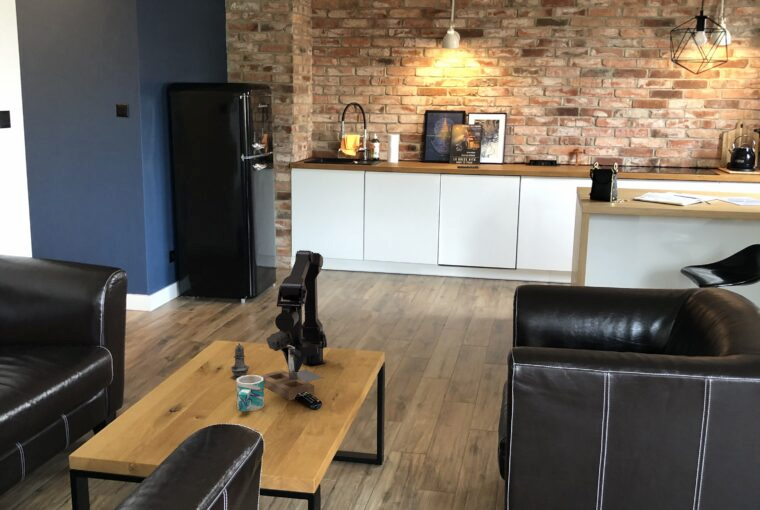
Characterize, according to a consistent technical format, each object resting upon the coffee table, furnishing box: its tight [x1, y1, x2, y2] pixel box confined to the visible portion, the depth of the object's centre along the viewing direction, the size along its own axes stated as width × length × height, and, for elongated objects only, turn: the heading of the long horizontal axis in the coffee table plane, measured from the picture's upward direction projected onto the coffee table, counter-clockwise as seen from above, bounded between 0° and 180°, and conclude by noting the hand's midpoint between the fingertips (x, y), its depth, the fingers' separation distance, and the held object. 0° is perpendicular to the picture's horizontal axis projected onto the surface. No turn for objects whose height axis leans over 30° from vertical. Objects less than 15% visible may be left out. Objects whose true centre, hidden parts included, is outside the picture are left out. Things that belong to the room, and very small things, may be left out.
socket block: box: [258, 369, 315, 401], centre depth 255 cm, size 18×9×3 cm, turn 40°
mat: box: [298, 368, 323, 383], centre depth 267 cm, size 10×10×1 cm
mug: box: [236, 374, 265, 412], centre depth 240 cm, size 8×12×8 cm
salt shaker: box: [230, 342, 250, 381], centre depth 264 cm, size 6×6×12 cm
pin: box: [288, 347, 298, 380], centre depth 250 cm, size 3×3×10 cm
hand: (293, 370), depth 251 cm, fingers closed on pin, 3 cm apart
